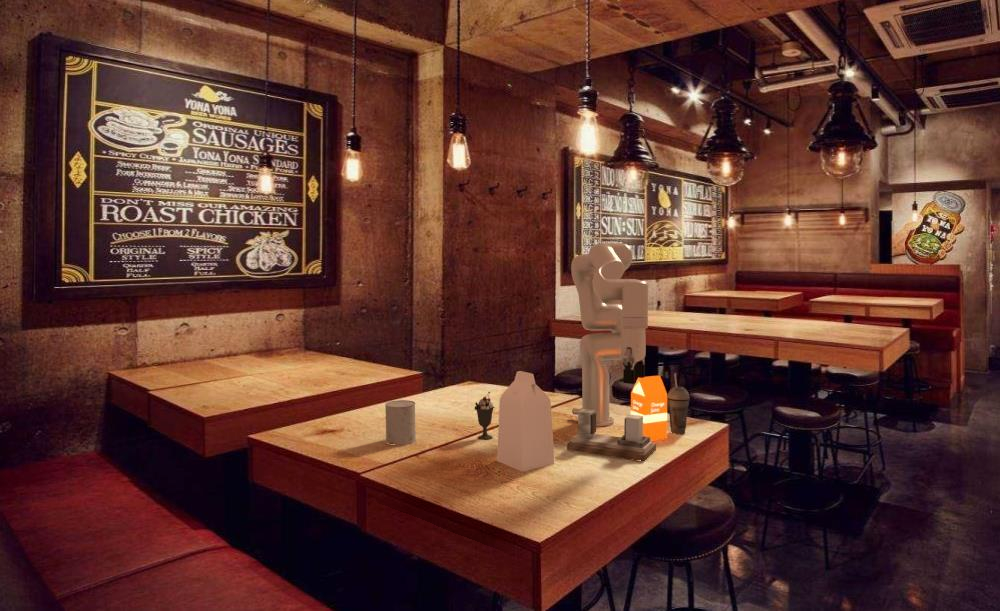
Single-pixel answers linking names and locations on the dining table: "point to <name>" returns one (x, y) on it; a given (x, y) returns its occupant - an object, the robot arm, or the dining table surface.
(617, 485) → the dining table surface
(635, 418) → the white block dark cap
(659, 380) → the orange juice
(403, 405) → the gray can
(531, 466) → the milk
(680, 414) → the beverage cup
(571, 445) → the rail board
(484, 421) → the sundae
